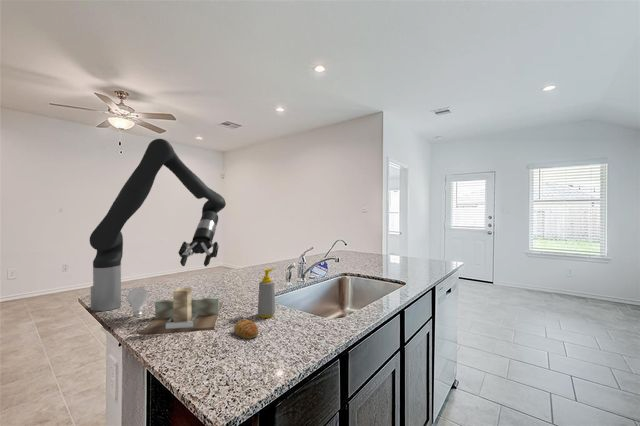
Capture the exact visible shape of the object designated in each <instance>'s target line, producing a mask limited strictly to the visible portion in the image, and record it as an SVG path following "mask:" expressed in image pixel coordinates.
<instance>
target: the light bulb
mask: <svg viewBox="0 0 640 426" xmlns="http://www.w3.org/2000/svg"><path fill="white" fill-rule="evenodd" d="M148 296H149V295H148V291H147V290H146V289H145V288H143V287H135V288H132V289H131V290H129V292H128V294H127V296H126V300H127V303H128V304H129V305H130V307H131V309H132V311H133V312H132V315H133V316H139V315H142V314H143V309H144V304H145V303H146V301H147V300H148Z"/></svg>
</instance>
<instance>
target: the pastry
mask: <svg viewBox="0 0 640 426" xmlns="http://www.w3.org/2000/svg"><path fill="white" fill-rule="evenodd" d="M233 329H234V333H235V334H236V336H238V337H240V338H243V339H245V338H246V339H248V340H250V339H253V338H256V337H258V335H259V333H260V332H259V329H258V327H257V324H256V323H255V322H254V321H253V320H249V319H246V318H245V319H244V318H243V319H240V320H239V321H237V322H236V323H235V325H234V327H233Z"/></svg>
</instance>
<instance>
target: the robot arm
mask: <svg viewBox="0 0 640 426" xmlns="http://www.w3.org/2000/svg"><path fill="white" fill-rule="evenodd" d="M162 167H166V168H167V169H168V170H169V171H170V172H172V173H173V175H175V177H176V178H177V179H178V180H179V182H180V183H181V184H182V185H183V186H184V187H185V188H186V190H187V191H189V192H190V193H191V195H193V197H194V198H196V199H198V200H200V199H206V200H207V201H205V202H204V204H203V205H202V208H201V209H202V211H201V217H200V220H199V223H198V224H197V226H196V229H195V231H194V235H193V237H192V240H191V242H187V241H183V242H182V245H181V246H180V248H179V250H178V252H177V253H178V255H179V257H180V261H179V263H180V265H181V267H185V266H186V264H187V260H188V258H189V257H191V256H193V255H196V254H197V255H198V254H201V255H202V254H205V256H204V257H205V258H204V260H203V266H204V267H208V266H209V265H210V263H211V259H212V258H217V256H218V251H219V247H220V246H219V243H218V241H214V237H215V234H216V231H217V230H216V229H217V226H218V222H219V215H218V213H219V212H220V211H222V210H223V209H225V207H226V201H225V198H224V197H223V196H222V195H221V194H219V193H217V192H216V191H215V190H213V189H211V188H210V187H208V186H207V185H206V183H204V182H203V181H202V179H201V178H200V177H198V176H197V175H196V174H195V173H194V172H193V171H192V170H191V169H190V168H189V167H188V166H187V165H186V164H185V163H184V162H183V161H182V159H180V157H179V155H177V153H176V152H175V150H174V148H173V146H172V144H171V143H170V142H169V141H168V140H166V139H164V138H155V139H153V140H151V141H150V143H148V146H147V148H146V150H145V152H144V154H143V156H142V158H141V160H140V162H139V164H138V165H137V167H136V168H135V169H134V170H133V172H132V173H131V175H130V176H129V177H128V179H127V181H125V182H124V184H123V186H122V187H121V189H120V191H119V193H118V194H117V196H116V197H115V199H114V201H113V202H112V203H111V206H110V208H109V210H108V212H107V213H106V215H105V216H104V217H103V219H102V220H100V222H99V224H97V226H96V228H94V230H93V231H92V232H91V234H90V235H89V245H90V246H91V248H92V249H94V250H95V251H96V255H95V257H94V259H93V261H92V283H93V284H92V285H91V286H90V311H94V312H106V311H111V310H115V309H117V308H120V307H121V306H122V259H123V253H124V251H123V250H124V249H123V247H124V238H123V236H124V235H123V233H122V229H123V228H124V226H125V224H126V223H127V222H128V221H129V219H130V218H131V217H132V216H133V215H134V214H135V213H136V212H137V211H138V210H139V209H140V208H141V207H142V206H143V204H144V202H145V201H146V200H147V198H148V196H149V194H150V192H151V190H152V188H153V184H154V183H155V179H156V177H157V175H158V173H159V171H160V170H161V169H162ZM213 241H214V243H213ZM211 248H212V252H210V251H209V250H210V249H211Z"/></svg>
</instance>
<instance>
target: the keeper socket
mask: <svg viewBox="0 0 640 426" xmlns="http://www.w3.org/2000/svg"><path fill="white" fill-rule="evenodd" d="M197 319H198V313H191V321H181V322H173V315H172V316H171V318H170V319H169V320H168V321H167V323H166V330H168V329H181V328H193V327H194V325H195V323H196V321H197Z"/></svg>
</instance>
